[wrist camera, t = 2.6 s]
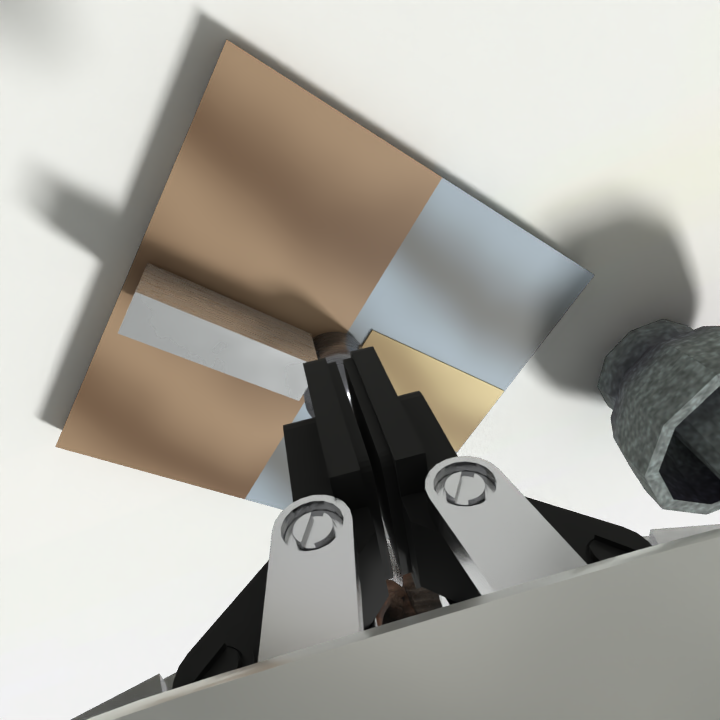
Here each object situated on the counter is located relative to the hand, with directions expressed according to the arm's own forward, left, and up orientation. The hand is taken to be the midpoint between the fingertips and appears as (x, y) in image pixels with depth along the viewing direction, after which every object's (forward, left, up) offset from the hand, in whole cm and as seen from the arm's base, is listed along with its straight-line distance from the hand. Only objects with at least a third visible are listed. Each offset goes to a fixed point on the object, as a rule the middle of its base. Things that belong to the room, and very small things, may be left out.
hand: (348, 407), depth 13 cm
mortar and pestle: (-2, +22, -13) cm, 26 cm away
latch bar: (+4, 0, -11) cm, 12 cm away
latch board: (+4, +4, -13) cm, 14 cm away
